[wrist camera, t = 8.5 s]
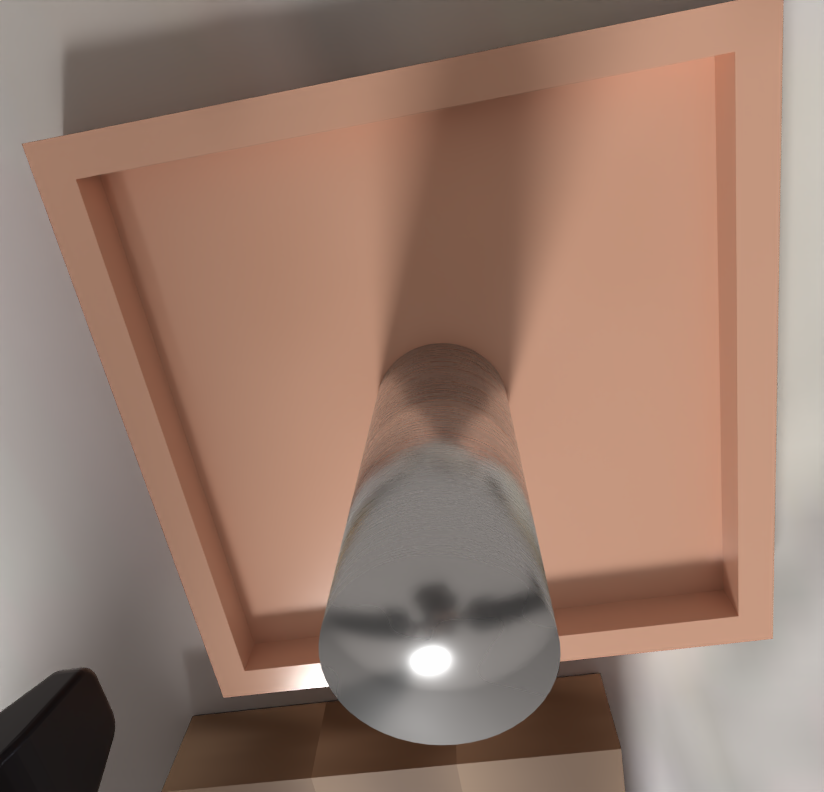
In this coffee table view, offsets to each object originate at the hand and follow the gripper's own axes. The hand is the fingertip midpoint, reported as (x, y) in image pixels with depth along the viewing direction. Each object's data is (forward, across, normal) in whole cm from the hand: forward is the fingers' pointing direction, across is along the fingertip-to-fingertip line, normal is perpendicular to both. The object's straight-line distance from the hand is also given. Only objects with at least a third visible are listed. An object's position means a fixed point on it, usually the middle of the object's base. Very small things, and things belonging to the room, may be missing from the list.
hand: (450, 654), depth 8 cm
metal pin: (+8, 0, 0) cm, 8 cm away
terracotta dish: (+9, 0, 0) cm, 9 cm away
